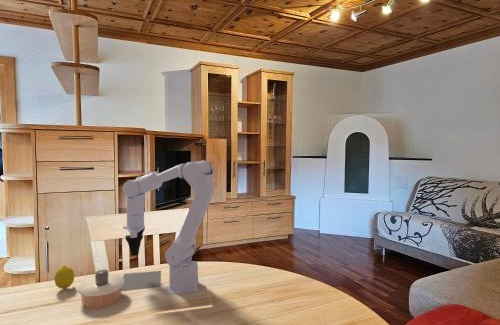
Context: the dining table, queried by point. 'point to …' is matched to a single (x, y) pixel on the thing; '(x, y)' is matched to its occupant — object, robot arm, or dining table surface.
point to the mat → (142, 280)
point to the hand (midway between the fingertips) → (135, 251)
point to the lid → (101, 284)
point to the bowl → (101, 299)
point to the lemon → (64, 277)
